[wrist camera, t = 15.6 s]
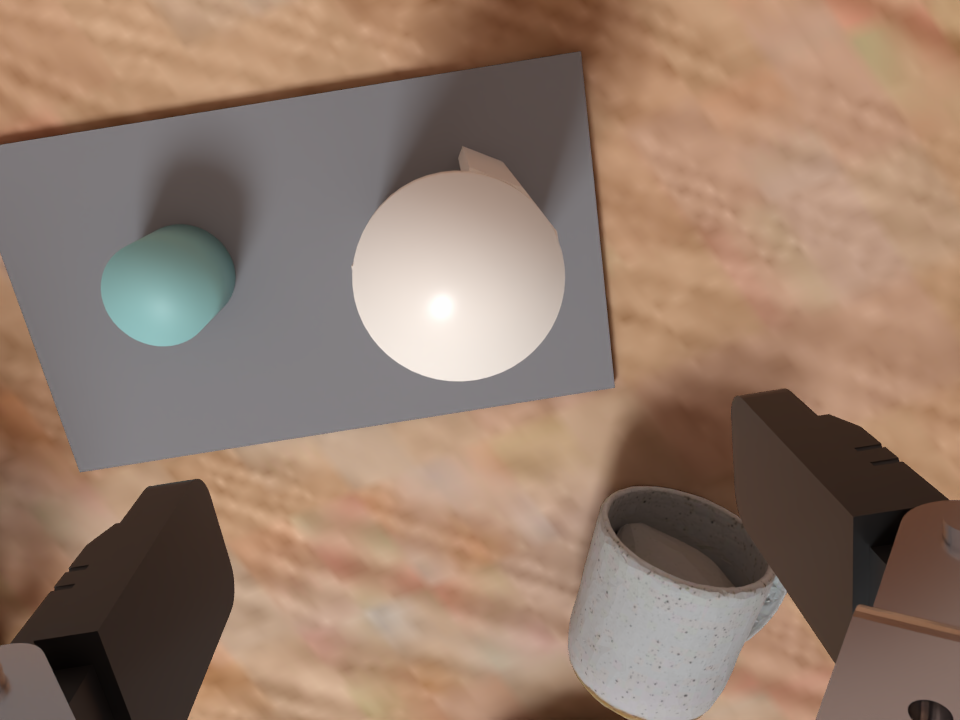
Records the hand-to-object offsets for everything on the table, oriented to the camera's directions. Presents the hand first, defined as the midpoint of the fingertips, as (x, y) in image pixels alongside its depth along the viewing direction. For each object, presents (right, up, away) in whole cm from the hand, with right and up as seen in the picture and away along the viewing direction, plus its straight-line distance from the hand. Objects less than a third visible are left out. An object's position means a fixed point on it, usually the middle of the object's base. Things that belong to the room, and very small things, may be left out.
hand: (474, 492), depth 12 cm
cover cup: (-1, +7, +20) cm, 22 cm away
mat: (-7, +6, +21) cm, 23 cm away
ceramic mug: (+9, -8, +27) cm, 29 cm away
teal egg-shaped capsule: (-12, +6, +20) cm, 24 cm away
